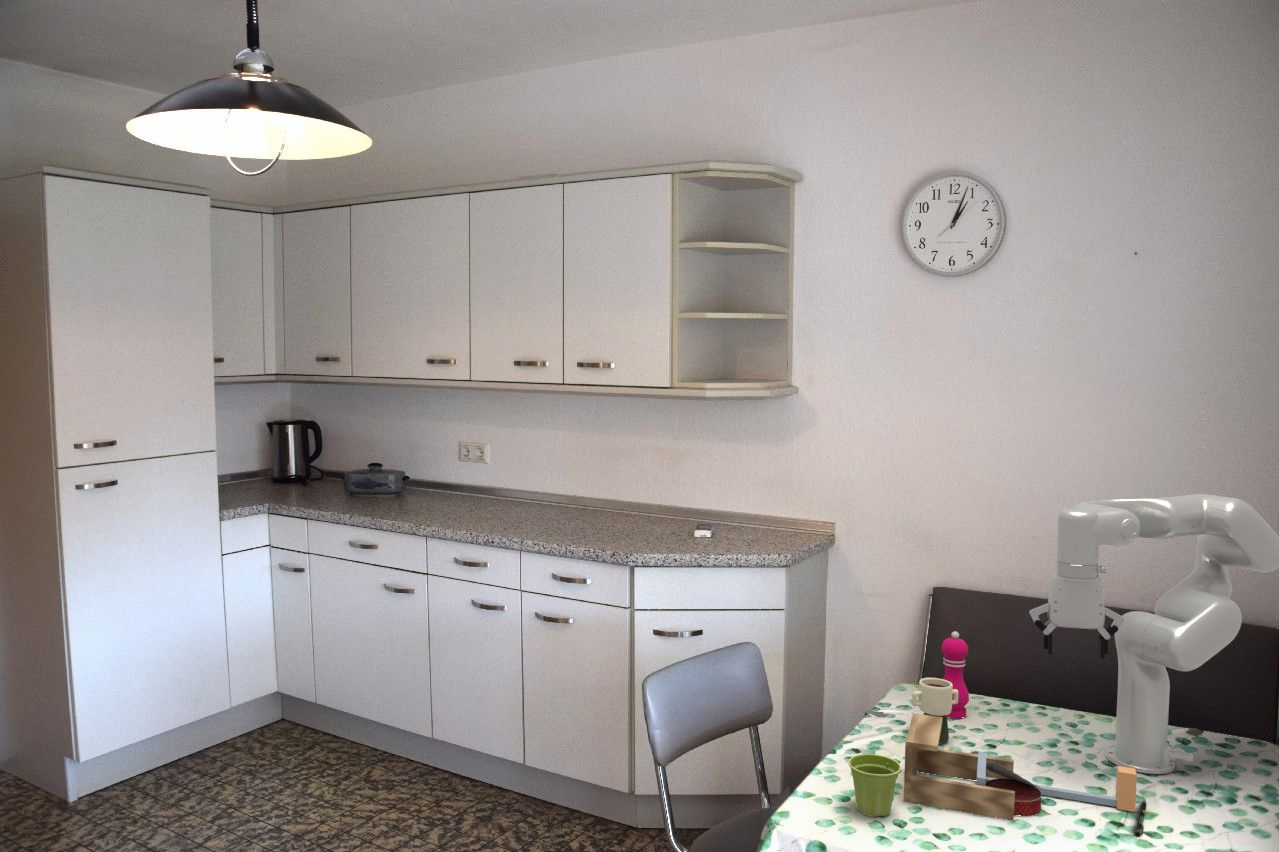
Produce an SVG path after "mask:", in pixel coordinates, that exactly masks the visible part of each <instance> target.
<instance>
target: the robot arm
mask: <svg viewBox="0 0 1279 852" xmlns="http://www.w3.org/2000/svg"><path fill="white" fill-rule="evenodd" d="M1057 517H1058V518H1057V541H1056V542H1057V543H1056V544H1057V546H1056V548H1057V550H1056V552H1057V553H1056V573H1055V574H1052V575H1051V580H1050V584H1049V591H1048V596H1047V597H1048V600H1047V602H1046V603H1045V604H1044V603H1043V604H1042V605H1040V606H1037V607H1034V608H1032V609H1030V610H1029V612H1028V613H1029V615H1030V617H1031V619H1032V620H1033V623H1034V625H1035V626H1036V627H1037V629H1039V630H1040V631H1041V632H1042V635H1043V637H1042V648H1043V650H1045V652H1046V654H1047V655H1048V656H1051V655H1052V654H1053V635H1052V632H1053V631H1054V629H1056V628H1058V627H1059V628H1071V629H1084V630H1086V629H1087V630H1097V631H1098V633H1099V636H1098V637H1097V655H1098V657H1099V659H1101V660H1105V657H1106V656H1105V655H1108V654H1109V640H1110V639H1111V637H1112V636H1113V635H1114V640H1115V641H1114V642H1115V647H1116V652H1117V653H1116V654H1117V662H1118V664H1117V665H1118V673H1117V675H1118V676H1117V677H1118V678H1117V696H1116V697H1117V699H1116V719H1115V720H1116V722H1115V724H1116V725H1115V745H1114V746H1111V747H1109V748H1108V749H1107V750H1106V753H1105V754H1106V759H1107V760H1108V761H1109V762H1111V763H1112V764H1114V765H1116V766H1121V767H1127V768H1134V769H1135V771H1136V773H1143V774H1146V775H1147V774H1149V775H1166V774H1169V773H1172V772H1173V771H1174V770H1175V767H1176V766H1175V765H1176V763H1175V762H1176V761H1177V762H1182V763H1187V764H1193V762H1194V755H1193V753H1190V752H1189V753H1188V752H1185V750H1184V749H1180V748H1172V747H1171V746H1170V745H1169V742H1168V731H1169V730H1168V728H1169V727H1168V726H1169V710H1170V709H1169V707H1170V693H1171V692H1170V691H1171V684H1170V677H1169V673H1168V671H1167V669H1166V668H1169V669H1172V670H1176V671H1179V672H1192V671H1194V670H1196V669H1197V668H1200V667H1201V666H1203V665H1204V664H1205V663H1207V661H1209V660H1210V659H1211V658H1213V657H1214V656H1215V655H1217V654H1218V653H1220V652H1221V650H1223V649H1224V648H1226V647H1227V646H1228V645H1229V644H1230V643H1231V642H1233V641H1234V640H1235V638H1236V636H1237V635H1238V633H1239V631H1240V629H1241V627H1242V623H1243V622H1242V621H1243V619H1242V618H1243V617H1242V611H1241V608H1240V607H1239V605H1237V603H1236V602H1235V601H1233V600H1232V599H1231V596H1232V594H1233V593H1232V592H1233V584H1232V581H1231V579H1230V573H1229V567H1232V568H1237V569H1242V570H1248V571H1252V572H1257V573H1271V572H1273V571H1276V570H1277V569H1279V535H1278V534H1277V533H1276V531H1275V530H1274V529H1273V528H1272V527H1271V525H1269V524H1268V522H1267V521H1266V520H1265V518H1263V516H1262V515H1260V513H1259V512H1258V511H1257V510H1256V509H1254V508H1253V507H1252V506H1251V505H1250V504H1249V503H1248V502H1246V501H1244V500H1242V499H1241V498H1240V499H1239V498H1236V497H1230V496H1222V495H1214V494H1205V493H1192V494H1185V495H1177V496H1168V497H1155V498H1153V497H1152V498H1129V499H1128V498H1127V499H1120V498H1119V499H1100V500H1090V501H1083V502H1079V503H1077V504H1075V505H1074V506H1073V507H1072V508H1064V509H1062V510H1061V511H1060V512H1059V513H1058V516H1057ZM1188 536H1189V537H1190V536H1191V537H1192V536H1198V537H1197V540H1196V548H1195V551H1196V553H1195V563H1194V568H1193V570H1192V571H1191V573H1189V574H1188V575H1187V576H1186V577H1184V578H1183V579H1182V580H1180V581H1179V582H1178V583H1177V584H1176V585H1173V587H1171V588H1169V590H1168V591H1166V592H1165V593H1163V594H1162V595H1161V596H1160V597H1159V598H1158V599H1157V601H1156V603H1155V605H1154V613H1151V612H1147V611H1142V610H1141V611H1138V610H1135V611H1133V610H1132V611H1129V612H1126V613H1124V614H1122V615H1120V614H1118V613H1117V612H1115V611H1113V610H1112V609H1109V608H1107V607H1105V595H1104V594H1105V593H1104V587H1103V581H1102V578H1101V577H1100V575H1102V574H1107V566H1102V565H1101V564H1099V552H1100V551H1099V550H1100V545H1103V546H1113V547H1122V546H1126V545H1130V544H1131V543H1133V542H1135V540H1136V539H1138V538H1144V539H1154V540H1155V539H1156V540H1167V539H1173V538H1183V537H1188ZM1044 613H1047V614H1046V615H1047V619H1048V621H1046V622H1045V623H1044V622H1043V621H1041V619H1040V617H1039V616H1040V615H1042V614H1044ZM1106 616H1107V617H1109V618H1110V619H1113V621H1112V623H1111V624H1110V625H1109V626H1108V627H1106V628H1105V627H1104V626H1105V624H1106V623H1105V622H1106V621H1105V620H1106Z"/></svg>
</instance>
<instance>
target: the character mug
mask: <svg viewBox="0 0 1279 852" xmlns="http://www.w3.org/2000/svg"><path fill="white" fill-rule="evenodd" d="M952 694H954V700H952ZM957 703H958V690H956V689H954V690H953V684H952V683H951V682H949V681H947V680H943V678H937V677H924V678H920V679H919V682H918V690H915V691H912V695H911V704H912V707H918V708H919V710H920V711H921V712H923V713H922V715H930V716H937V717H943V722H942V728H941V734H940V739H939V744H944V743H947V742H949V739H950V735H949V724H948V718H947V717H946V715H948V714H950V713H951V710H952V704H957Z"/></svg>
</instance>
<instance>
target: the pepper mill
mask: <svg viewBox="0 0 1279 852" xmlns="http://www.w3.org/2000/svg"><path fill="white" fill-rule="evenodd" d="M950 634H951V635H950V636H951V637H947V638H946V639H944V640H943V642H942V644H941V652H942V654H943V655H944V656H943V662H942V663H943V664H944V667H945V668H944V669H945V670H944V676H943V678H942V679H943V680H947V681H949V682H951V683H952V684H953V690H954V689H956V690H958V703H957V704H952V710H951V713H950V714H948V715H946V717H950V718H962V717H965V716H966V717H967V708H966V707H965V706H967V705H968V704H969V701H970V696H969V694H970V693H969V690H968V688H967V686H966V683H965V680H964V672H963V671H964V667H965V666H966V659H965V658H966V657H967V655H968V654H969V647H968V645H967V643H966V641H965V640H963V639H962V638H959V637H960V633H959V632H958V631H955V630H954V631H952V632H951V633H950ZM952 700H954V694H952ZM966 717H965V718H966ZM950 718H949V719H950Z"/></svg>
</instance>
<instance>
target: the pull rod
mask: <svg viewBox="0 0 1279 852" xmlns="http://www.w3.org/2000/svg"><path fill="white" fill-rule="evenodd" d="M977 755H978V766H977V782H976V784H975V785H981V786H985V785H986V783H987V782H988V781H990V780H993V779H998V778H992V777H986V756H988V755H987V752H982V751H978V752H977ZM1115 777H1116V781H1115V784H1116V785H1115V796H1111V795H1103V794H1098V793H1092V792H1091V793H1090V792H1084V791H1079V790H1072V789H1066V788H1059V787H1053V786H1047V785H1041V784H1034V783H1033V784H1034V785H1036V786H1038V787H1040V788H1038V787H1036V788H1038V789H1039V790H1040V791H1041V793H1042V796H1048V797H1055V798H1060V799H1061V798H1062V799H1068V800H1074V801H1080V802H1085V803H1092V804H1099V805H1103V806H1104V805H1105V806H1111V807H1116V809H1117V810H1121V811H1128V812H1132V813H1133V812H1134V813H1136V806H1137V805H1136V804H1137V802H1136V801H1137V782H1138V772H1136V771H1135V769H1134V768H1127V767H1121V766H1118V765H1116V776H1115Z"/></svg>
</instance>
